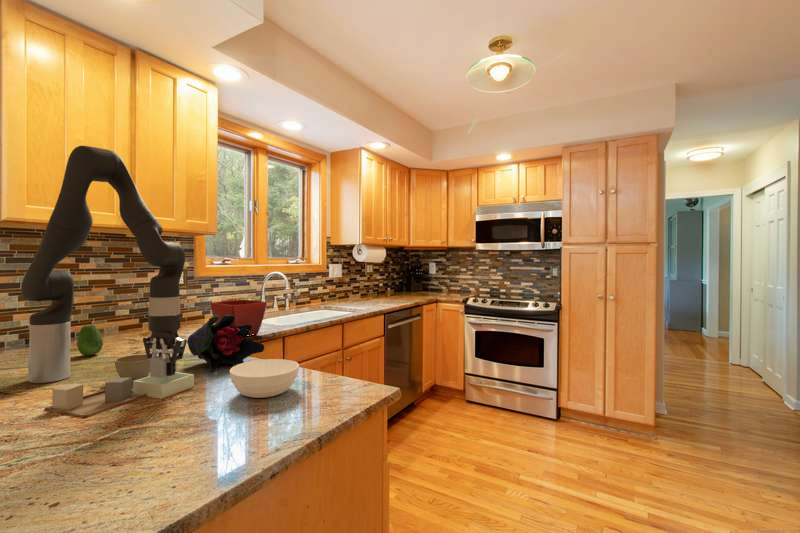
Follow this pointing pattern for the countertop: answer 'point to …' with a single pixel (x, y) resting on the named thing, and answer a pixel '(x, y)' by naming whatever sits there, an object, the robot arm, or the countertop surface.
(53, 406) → the stone sand
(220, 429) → the countertop surface
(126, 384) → the stone basalt
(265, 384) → the bowl
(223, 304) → the plant pot
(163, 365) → the stone slate
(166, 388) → the green bin
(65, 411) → the walnut tray
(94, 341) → the avocado
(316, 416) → the countertop surface
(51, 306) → the robot arm
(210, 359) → the decorative plant
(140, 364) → the flower pot
